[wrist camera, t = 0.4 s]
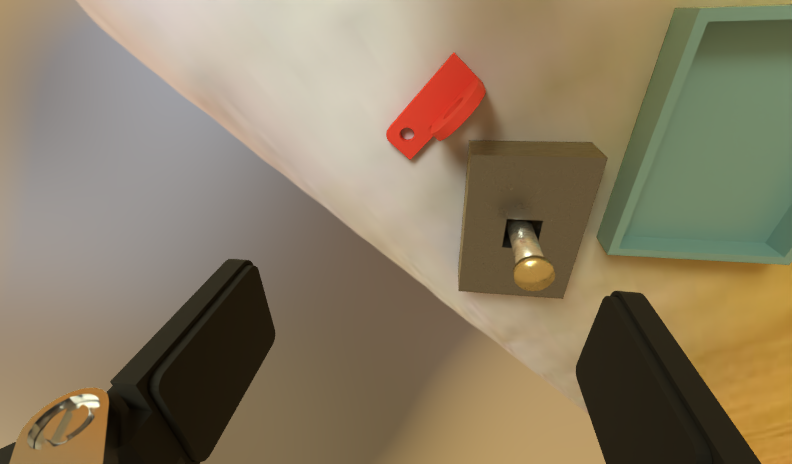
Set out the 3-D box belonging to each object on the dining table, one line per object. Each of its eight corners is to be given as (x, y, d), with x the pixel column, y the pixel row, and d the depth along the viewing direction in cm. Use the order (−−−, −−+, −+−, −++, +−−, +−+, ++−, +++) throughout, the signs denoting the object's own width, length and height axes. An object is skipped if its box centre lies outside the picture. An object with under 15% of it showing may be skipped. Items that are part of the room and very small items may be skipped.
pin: (502, 200, 46) (517, 260, 35) (533, 201, 45) (559, 262, 34) (498, 226, 48) (511, 289, 37) (528, 227, 47) (550, 292, 36)
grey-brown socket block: (469, 140, 42) (471, 155, 38) (591, 142, 40) (607, 157, 36) (458, 268, 53) (458, 290, 49) (554, 274, 51) (562, 298, 47)
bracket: (453, 52, 37) (453, 61, 31) (482, 82, 38) (488, 97, 32) (384, 132, 43) (371, 155, 36) (410, 156, 44) (403, 182, 38)
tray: (675, 8, 32) (700, 8, 29) (928, -1, 30) (988, -2, 26) (596, 237, 47) (607, 254, 43) (763, 245, 44) (789, 264, 41)
